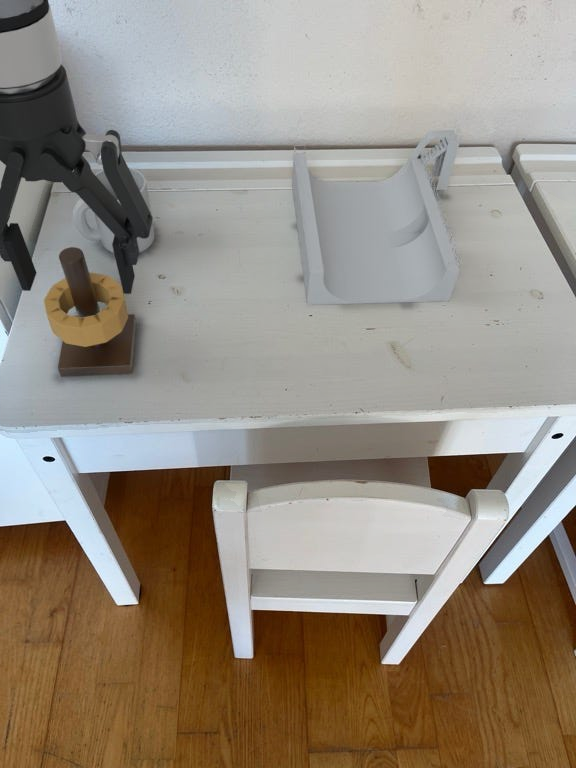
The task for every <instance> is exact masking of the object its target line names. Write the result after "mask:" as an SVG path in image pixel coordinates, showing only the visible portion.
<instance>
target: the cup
mask: <svg viewBox="0 0 576 768" xmlns="http://www.w3.org/2000/svg"><path fill="white" fill-rule="evenodd" d="M128 168H129V170H130V172H131V174H132V176H133V178H134V180H135V182H136V184H137V186H138V188H139V190H140V192H141V194H142V196H143V198H144V200H145V202H146V205H147V207H148V209H149V211H150V213H151V215H152V214H153V213H152V209H151V208H152V207H151V203H150V197H149V191H148V185H147V180H146V176H145V175H144V174H143V173H142V172H140V171H139V170H137V169H136V168H133V167H128ZM94 174H95V176H96V177H97V178H98V179H99V180H100V181H101V182H102V184H103V185H104V186H105V187H106V188H107V189H108V191H109V192H110V193H111V194H112V195H113V196H114V198H115V199H116V200H117V201H118V202H119V200H118V198H117V196H116V194H115V192H114V191H113V189H112V187H111V185H110V183H109V181H108V179H107V177H106V175H105V173H104V170H103V169H102V170H99V171H97V172H96V173H94ZM119 203H120V202H119ZM120 205H121V204H120ZM89 210H91V209H90V207H89V206H88V205H87V204H86V203H85V202H84V201H83V200H82V199H81V198H79V199H78V200H77V201H76V203H75V204H74V206H73V210H72V221H73V225H74V227H75V229H76V231H77V233H79V235H80V236H81V237H82V238H84V239H85V240H88V241H91V242H98V241H101V244H102V246H103V247H104V248H105V249H106V250H107V251H109V252H110V253H113V254H114V251H113V246H112V243H113V239H114V236H115V235H114V234H113V233H112V232H111V231H110V229H109V228H108V227H107V226H106V225H105V224H104V223H103V222H102V221H101V220H100V218H99V217H98V216H97V215H96V214H95V213H94V212H93V214H94V218H95V221H96V226H97V227H95V228H91V227H90V225H89V223H88V221H87V215H86V214H87V211H89ZM152 216H153V215H152ZM155 235H156V234H155V227H154V221H153V220H152V225H151V230H150V234H149V237H148V238H146V239H143V238H140V237H138V238H137V242H138V247H139V254H142V253H143V252H144V251H147V250H148V249H149V247H151V246H152V244H153V242H154V240H155Z"/></svg>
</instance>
